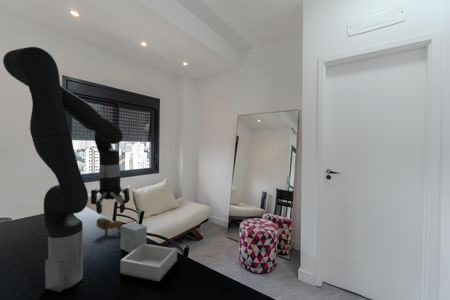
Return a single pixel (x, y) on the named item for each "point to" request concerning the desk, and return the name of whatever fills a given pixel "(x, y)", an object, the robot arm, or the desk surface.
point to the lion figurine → (108, 225)
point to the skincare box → (132, 236)
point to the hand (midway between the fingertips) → (111, 212)
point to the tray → (148, 262)
